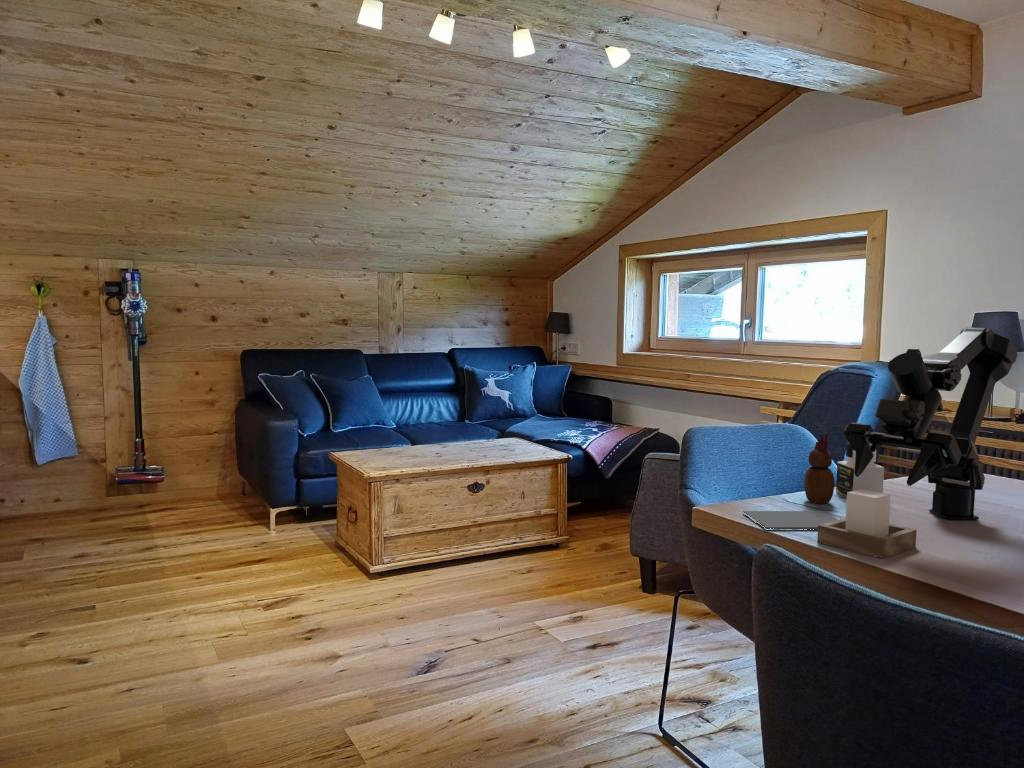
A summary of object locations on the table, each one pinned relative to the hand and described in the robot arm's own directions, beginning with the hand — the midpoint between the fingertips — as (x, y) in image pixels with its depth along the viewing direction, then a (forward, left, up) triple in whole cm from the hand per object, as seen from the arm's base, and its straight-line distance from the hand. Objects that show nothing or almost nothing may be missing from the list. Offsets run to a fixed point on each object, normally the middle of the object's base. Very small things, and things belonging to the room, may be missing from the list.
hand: (881, 479), depth 134 cm
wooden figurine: (-3, -29, -11) cm, 31 cm away
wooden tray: (+3, +2, -11) cm, 12 cm away
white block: (+3, +2, -11) cm, 12 cm away
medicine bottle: (-15, -35, -11) cm, 39 cm away
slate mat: (+9, -13, -11) cm, 19 cm away
